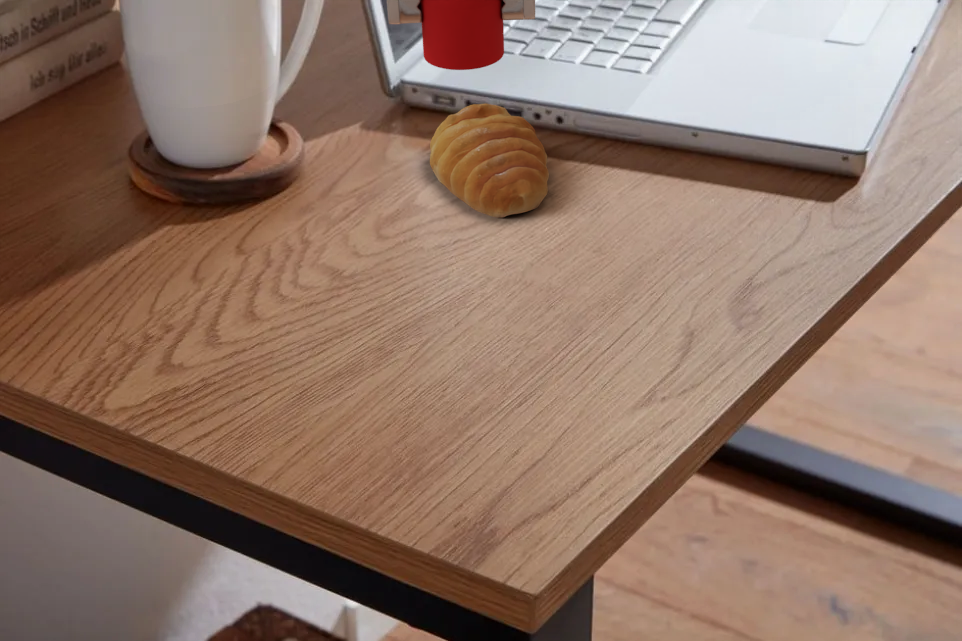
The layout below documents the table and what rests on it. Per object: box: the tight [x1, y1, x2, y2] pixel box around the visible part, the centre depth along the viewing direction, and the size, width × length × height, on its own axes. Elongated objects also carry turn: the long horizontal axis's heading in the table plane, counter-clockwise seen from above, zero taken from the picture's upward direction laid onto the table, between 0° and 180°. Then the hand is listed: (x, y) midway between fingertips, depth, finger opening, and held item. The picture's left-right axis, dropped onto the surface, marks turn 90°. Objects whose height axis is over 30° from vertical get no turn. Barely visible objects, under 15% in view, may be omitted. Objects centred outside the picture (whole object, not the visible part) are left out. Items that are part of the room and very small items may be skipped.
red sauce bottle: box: [420, 0, 505, 71], centre depth 58 cm, size 4×4×5 cm
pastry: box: [429, 102, 550, 219], centre depth 80 cm, size 9×7×4 cm
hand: (461, 17), depth 59 cm, fingers closed on red sauce bottle, 3 cm apart
